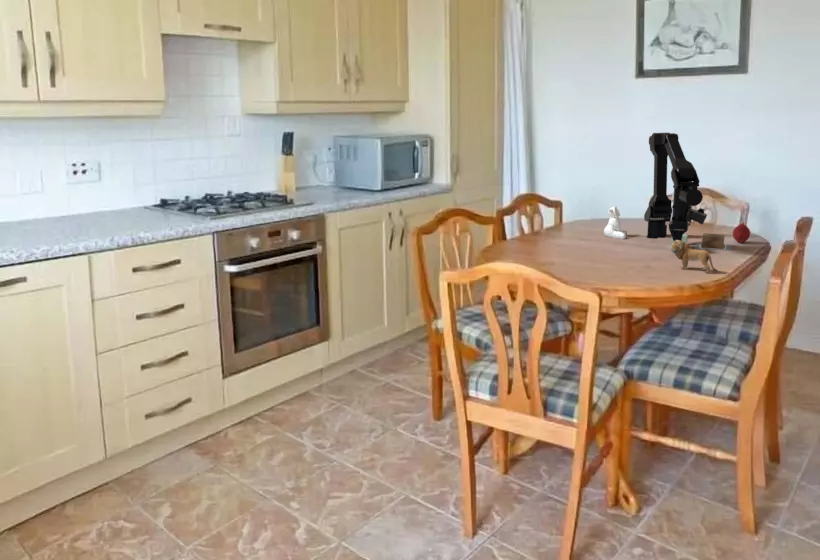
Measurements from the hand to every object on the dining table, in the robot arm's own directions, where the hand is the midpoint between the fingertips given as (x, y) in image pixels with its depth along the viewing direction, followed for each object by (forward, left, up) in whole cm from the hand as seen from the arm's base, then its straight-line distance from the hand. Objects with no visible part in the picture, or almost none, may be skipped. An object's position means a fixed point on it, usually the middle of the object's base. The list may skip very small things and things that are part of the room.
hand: (678, 245), depth 258 cm
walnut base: (+11, +5, -1) cm, 12 cm away
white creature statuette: (-25, +16, -1) cm, 30 cm away
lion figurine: (+7, -33, -1) cm, 34 cm away
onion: (+20, +15, -1) cm, 25 cm away
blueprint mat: (+11, +5, -1) cm, 12 cm away
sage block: (0, 0, -1) cm, 1 cm away
